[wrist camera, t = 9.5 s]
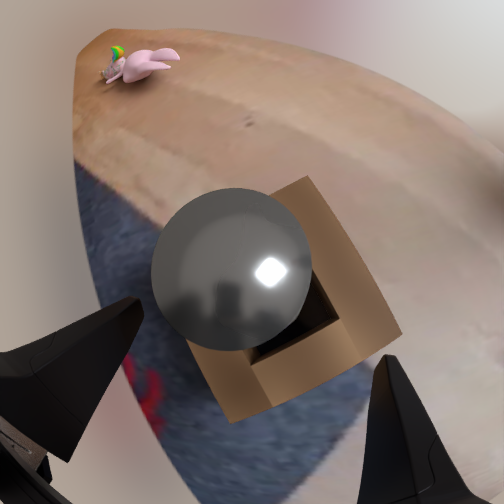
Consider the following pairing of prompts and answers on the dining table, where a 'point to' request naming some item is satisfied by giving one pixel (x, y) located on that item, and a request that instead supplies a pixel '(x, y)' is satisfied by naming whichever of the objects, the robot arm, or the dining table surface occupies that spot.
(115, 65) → the rabbit figure
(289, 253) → the steel rod
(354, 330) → the walnut square frame
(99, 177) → the dining table surface
